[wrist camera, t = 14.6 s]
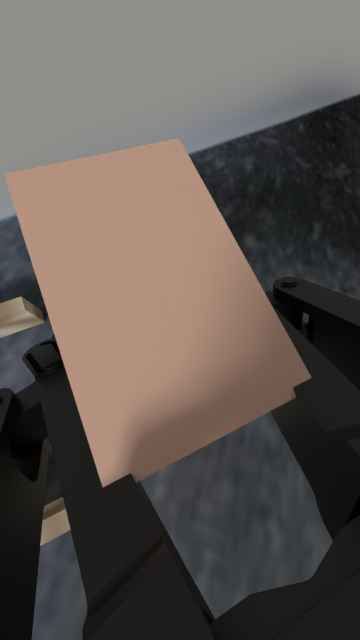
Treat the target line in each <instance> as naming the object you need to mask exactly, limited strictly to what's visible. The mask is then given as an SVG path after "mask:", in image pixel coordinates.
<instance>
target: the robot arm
mask: <svg viewBox="0 0 360 640" xmlns="http://www.w3.org/2000/svg"><path fill="white" fill-rule="evenodd" d="M264 293H265V294H266V296H267V298H268V300H269V302H270V303H271V305H272V307H273V309H274V311H275V312H276V314H277V316H278V318H279V320H280V321H281V323H282V325H283V327H284V329H285V330H286V332H287V334H288V336H289V338H290V339H291V341H292V343H293V345H294V347H295V348H296V350H297V352H298V354H299V356H300V357H301V359H302V361H303V363H304V365H305V366H306V368H307V370H308V372H309V374H310V375H311V377H312V378H310V379H308V380H306V381H304V382H302V383H301V384H299V385H297V386H295V387H293V389H294V392H295V395H296V398H294V399H292V400H290V401H288V402H286V403H284V404H283V405H281V406H279V407H277V408H275V409H273V410H271V411H270V412H271V414H272V416H273V417H274V419H275V421H276V423H277V425H278V427H279V428H280V430H281V432H282V434H283V436H284V438H285V439H286V441H287V443H288V445H289V447H290V449H291V450H292V452H293V454H294V456H295V458H296V460H297V462H298V463H299V465H300V467H301V469H302V471H303V473H304V474H305V476H306V478H307V480H308V482H309V484H310V486H311V488H312V490H313V492H314V495H315V497H316V501H317V505H318V509H319V512H320V514H321V517H322V520H323V522H324V524H325V526H326V528H327V530H328V532H329V534H330V536H331V538H332V540H333V543H332V545H331V546H330V548H329V550H328V551H327V553H326V555H325V557H324V558H323V560H322V562H321V563H320V565H319V567H318V569H317V570H316V572H315V574H314V575H313V576H312V578H310V579H309V580H307V581H305V582H301V583H296V584H292V585H288V586H284V587H279V588H275V589H271V590H267V591H262V592H258V593H254V594H250V595H249V596H247V597H246V598H245V599H243V600H242V601H240V602H239V603H238V604H236V605H235V606H234V607H232V608H231V609H229V610H228V611H227V612H225V613H224V614H223V615H221V616H220V617H218V618H217V619H216V620H215V618H214V616H213V614H212V613H211V611H210V609H209V607H208V605H207V603H206V602H205V600H204V598H203V596H202V595H201V593H200V591H199V589H198V587H197V586H196V584H195V582H194V581H193V579H192V577H191V575H190V573H189V572H188V570H187V568H186V566H185V564H184V562H183V561H182V559H181V557H180V555H179V553H178V551H177V549H176V548H175V546H174V544H173V542H172V540H171V538H170V536H169V535H168V533H167V531H166V529H165V527H164V525H163V524H162V522H161V520H160V518H159V516H158V514H157V512H156V511H155V509H154V507H153V505H152V503H151V501H150V499H149V498H148V496H147V494H146V492H145V490H144V488H143V486H142V485H141V483H140V481H139V482H137V483H136V482H135V480H134V478H133V476H132V475H131V473H130V474H128V475H126V476H124V477H122V478H120V479H118V480H116V481H114V482H112V483H111V484H109V485H107V486H105V487H102V484H101V481H100V477H99V474H98V471H97V468H96V465H95V462H94V458H93V455H92V452H91V449H90V446H89V442H88V439H87V436H86V433H85V430H84V427H83V423H82V420H81V417H80V414H79V411H78V408H77V404H76V401H75V398H74V395H73V392H72V388H71V385H70V382H69V379H68V376H67V373H66V369H65V366H64V363H63V360H62V357H61V354H60V350H59V347H58V344H57V341H56V338H55V334H54V335H53V336H52V337H51V339H49V340H45V341H43V342H40V343H38V344H36V345H35V346H33V347H32V348H30V349H29V350H28V351H27V352H26V353H25V354H24V355H23V359H22V360H23V361H24V363H25V364H26V366H27V367H28V368H29V370H30V371H31V372H32V374H33V375H34V376H35V380H36V381H35V382H34V383H32V384H31V385H29V386H28V387H26V388H25V389H23V390H21V391H19V392H18V393H16V394H14V392H13V391H12V390H10V389H9V388H3V389H0V640H31V638H32V628H33V617H34V607H35V596H36V585H37V575H38V564H39V553H40V543H41V532H42V522H43V511H44V500H45V490H46V479H47V468H48V458H49V447H50V444H51V448H52V452H53V457H54V461H55V465H56V469H57V474H58V478H59V482H60V487H61V491H62V495H63V499H64V504H65V508H66V512H67V516H68V521H69V525H70V529H71V534H72V538H73V542H74V546H75V551H76V555H77V559H78V564H79V568H80V572H81V576H82V581H83V585H84V589H85V593H86V599H87V616H86V619H85V622H84V625H83V640H360V300H357V299H354V298H352V297H349V296H346V295H344V294H341V293H338V292H335V291H333V290H330V289H327V288H325V287H322V286H319V285H316V284H314V283H311V282H308V281H305V280H303V279H299V278H294V277H284V278H281V279H278V280H276V281H275V282H274V283H273V291H268V292H264ZM303 312H305V313H306V314H308V315H309V321H308V323H305V322H303Z"/></svg>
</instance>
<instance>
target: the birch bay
mask: <svg viewBox="0 0 360 640" xmlns="http://www.w3.org/2000/svg"><path fill="white" fill-rule="evenodd" d="M44 322H45V320H44V317H43V314H42V311H41V310H40V309H38V308H37V307H36V306H34V305H33V304H31V303H30V302H29V301H27V300H26V299H24V298H23V297H18V298H15V299H12V300H9V301H5V302H2V303H0V338H1V337H4V336H7V335H10V334H13V333H16V332H18V331H21V330H24V329H27V328H30V327H33V326H36V325H38V324H41V323H44ZM69 530H71V529H70V525H69V521H68V516H67V512H66V508H65V504H64V499H63V497H61V498H59V499H57V500H55V501H53V502H51V503H49V504H47V505H45V506H44V511H43V522H42V532H41V543H40V546H41V545H43V544H45V543H47V542H49V541H50V540H52V539H54V538H56V537H58V536H60V535H61V534H63V533H65V532H67V531H69Z"/></svg>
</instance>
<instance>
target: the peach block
mask: <svg viewBox="0 0 360 640" xmlns="http://www.w3.org/2000/svg"><path fill="white" fill-rule="evenodd" d="M4 175H5V179H6V182H7V185H8V188H9V192H10V195H11V198H12V201H13V204H14V207H15V211H16V214H17V217H18V220H19V223H20V226H21V230H22V233H23V236H24V239H25V242H26V246H27V249H28V252H29V255H30V258H31V261H32V265H33V268H34V271H35V274H36V277H37V280H38V284H39V287H40V290H41V293H42V296H43V300H44V303H45V306H46V309H47V312H48V315H49V319H50V322H51V325H52V328H53V331H54V334H55V338H56V341H57V344H58V347H59V350H60V354H61V357H62V360H63V363H64V366H65V369H66V373H67V376H68V379H69V382H70V385H71V388H72V392H73V395H74V398H75V401H76V404H77V408H78V411H79V414H80V417H81V420H82V423H83V427H84V430H85V433H86V436H87V439H88V442H89V446H90V449H91V452H92V455H93V458H94V462H95V465H96V468H97V471H98V474H99V477H100V481H101V484H102V487H105V486H107V485H109V484H111V483H112V482H114V481H116V480H118V479H120V478H122V477H124V476H126V475H128V474H130V473H131V475H132V476H133V478H134V480H135V482H136V483H137V482H139V481H141V480H142V479H144V478H146V477H148V476H150V475H152V474H154V473H156V472H157V471H159V470H161V469H163V468H165V467H167V466H169V465H170V464H172V463H174V462H176V461H178V460H180V459H182V458H184V457H185V456H187V455H189V454H191V453H193V452H195V451H197V450H199V449H200V448H202V447H204V446H206V445H208V444H210V443H212V442H213V441H215V440H217V439H219V438H221V437H223V436H225V435H227V434H228V433H230V432H232V431H234V430H236V429H238V428H240V427H241V426H243V425H245V424H247V423H249V422H251V421H253V420H255V419H256V418H258V417H260V416H262V415H264V414H266V413H268V412H270V411H271V410H273V409H275V408H277V407H279V406H281V405H283V404H284V403H286V402H288V401H290V400H292V399H294V398H296V395H295V392H294V389H293V387H295V386H297V385H299V384H301V383H302V382H304V381H306V380H308V379H310V378H312V377H311V375H310V374H309V372H308V370H307V368H306V366H305V365H304V363H303V361H302V359H301V357H300V356H299V354H298V352H297V350H296V348H295V347H294V345H293V343H292V341H291V339H290V338H289V336H288V334H287V332H286V330H285V329H284V327H283V325H282V323H281V321H280V320H279V318H278V316H277V314H276V312H275V311H274V309H273V307H272V305H271V303H270V302H269V300H268V298H267V296H266V294H265V293H264V291H263V289H262V287H261V285H260V283H259V282H258V280H257V278H256V276H255V274H254V273H253V271H252V269H251V267H250V265H249V264H248V262H247V260H246V258H245V256H244V255H243V253H242V251H241V249H240V247H239V246H238V244H237V242H236V240H235V238H234V237H233V235H232V233H231V231H230V229H229V228H228V226H227V224H226V222H225V220H224V219H223V217H222V215H221V213H220V211H219V210H218V208H217V206H216V204H215V202H214V200H213V199H212V197H211V195H210V193H209V191H208V190H207V188H206V186H205V184H204V182H203V181H202V179H201V177H200V175H199V173H198V172H197V170H196V168H195V166H194V164H193V163H192V161H191V159H190V157H189V155H188V154H187V152H186V150H185V148H184V147H183V145H182V143H181V141H180V139H179V138H177V139H172V140H167V141H162V142H157V143H152V144H147V145H143V146H138V147H133V148H128V149H124V150H118V151H114V152H109V153H104V154H99V155H94V156H89V157H84V158H80V159H75V160H70V161H65V162H60V163H55V164H50V165H45V166H40V167H36V168H31V169H26V170H21V171H16V172H11V173H6V174H4Z"/></svg>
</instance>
